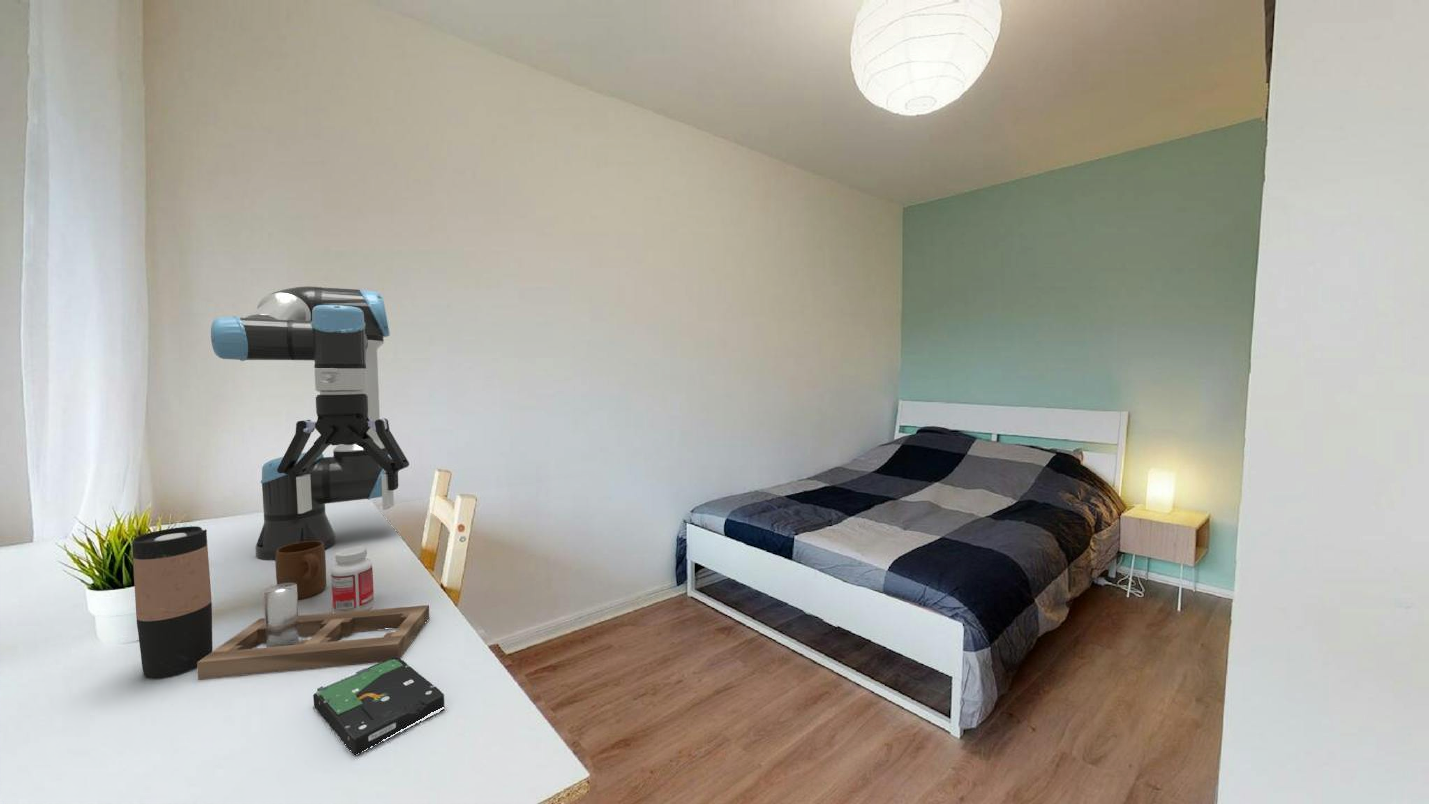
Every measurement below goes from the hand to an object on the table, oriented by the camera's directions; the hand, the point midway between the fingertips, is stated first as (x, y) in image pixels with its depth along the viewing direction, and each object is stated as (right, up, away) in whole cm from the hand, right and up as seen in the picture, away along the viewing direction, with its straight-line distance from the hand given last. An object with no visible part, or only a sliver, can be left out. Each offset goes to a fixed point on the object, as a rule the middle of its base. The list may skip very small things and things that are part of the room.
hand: (347, 509), depth 92 cm
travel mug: (-13, -20, -16) cm, 29 cm away
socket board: (+5, -19, -11) cm, 23 cm away
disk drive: (+23, -21, -26) cm, 40 cm away
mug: (-13, -19, +7) cm, 24 cm away
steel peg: (-1, -20, -12) cm, 23 cm away
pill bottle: (0, -19, +1) cm, 19 cm away
